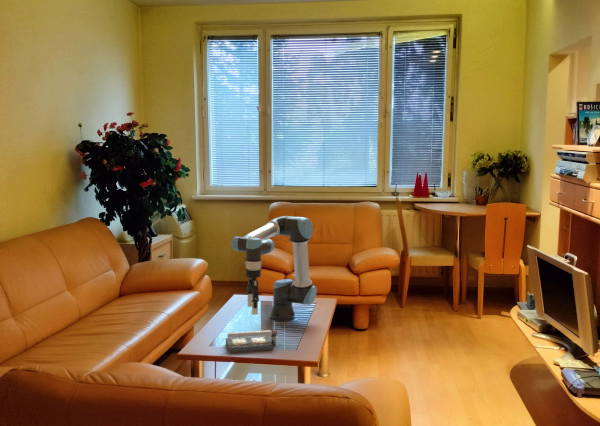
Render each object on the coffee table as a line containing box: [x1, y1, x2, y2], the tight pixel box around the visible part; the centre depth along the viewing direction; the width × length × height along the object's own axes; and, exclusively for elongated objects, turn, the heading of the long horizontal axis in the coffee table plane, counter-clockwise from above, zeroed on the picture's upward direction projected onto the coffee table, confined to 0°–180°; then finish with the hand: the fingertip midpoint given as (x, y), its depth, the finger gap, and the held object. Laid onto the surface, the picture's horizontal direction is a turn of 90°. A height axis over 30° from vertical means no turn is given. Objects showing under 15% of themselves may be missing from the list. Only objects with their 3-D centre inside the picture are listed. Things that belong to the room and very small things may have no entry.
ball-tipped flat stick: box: [227, 328, 278, 338], centre depth 277 cm, size 26×3×3 cm, turn 105°
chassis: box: [225, 335, 277, 354], centre depth 277 cm, size 25×14×5 cm, turn 105°
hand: (252, 310), depth 269 cm, fingers open, 13 cm apart
